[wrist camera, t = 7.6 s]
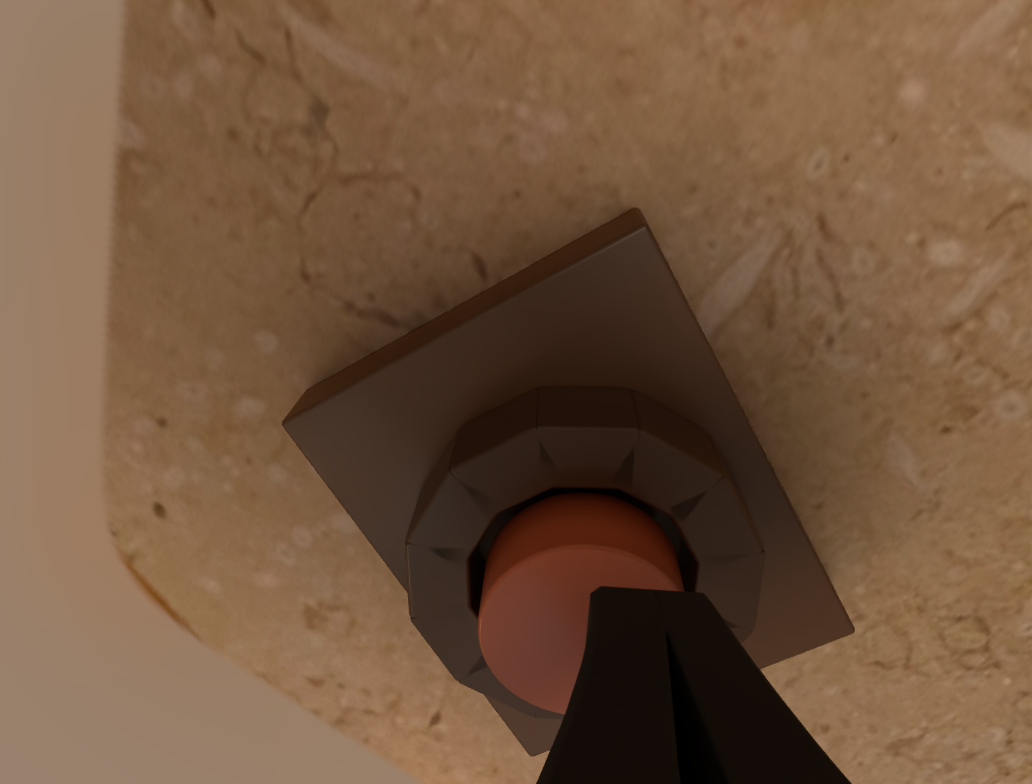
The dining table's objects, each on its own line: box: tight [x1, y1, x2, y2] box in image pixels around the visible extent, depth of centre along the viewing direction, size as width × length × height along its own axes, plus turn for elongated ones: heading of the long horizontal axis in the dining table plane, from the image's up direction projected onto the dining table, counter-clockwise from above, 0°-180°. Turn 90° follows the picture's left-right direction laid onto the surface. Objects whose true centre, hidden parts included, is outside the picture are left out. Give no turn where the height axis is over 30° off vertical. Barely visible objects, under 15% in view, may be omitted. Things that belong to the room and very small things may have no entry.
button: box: [477, 492, 685, 714], centre depth 14 cm, size 4×4×2 cm
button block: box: [282, 208, 855, 756], centre depth 16 cm, size 10×8×4 cm
